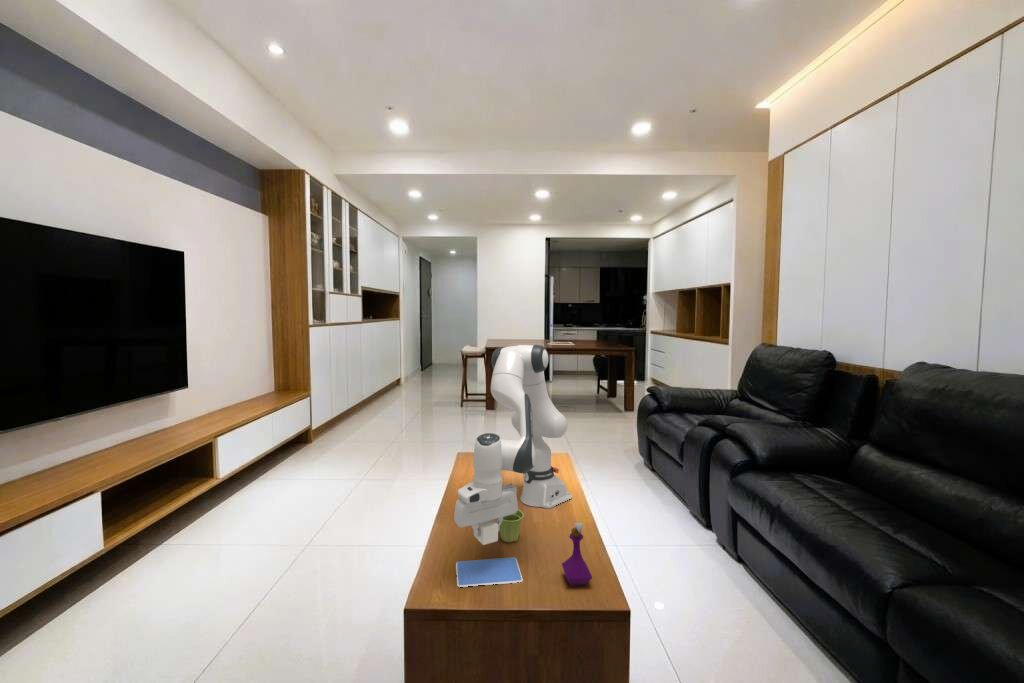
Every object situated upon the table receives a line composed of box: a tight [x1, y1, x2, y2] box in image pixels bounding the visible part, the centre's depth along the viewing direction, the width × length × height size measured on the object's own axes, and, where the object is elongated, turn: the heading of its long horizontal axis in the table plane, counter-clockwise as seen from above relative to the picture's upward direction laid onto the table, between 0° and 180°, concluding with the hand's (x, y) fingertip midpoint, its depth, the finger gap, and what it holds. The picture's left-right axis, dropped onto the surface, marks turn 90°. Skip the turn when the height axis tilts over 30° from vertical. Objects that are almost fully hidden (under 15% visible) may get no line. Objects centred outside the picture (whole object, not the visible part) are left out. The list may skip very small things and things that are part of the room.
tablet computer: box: [455, 556, 524, 589], centre depth 130 cm, size 19×13×1 cm, turn 100°
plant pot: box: [499, 509, 524, 543], centre depth 150 cm, size 9×9×9 cm
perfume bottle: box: [561, 522, 593, 586], centre depth 126 cm, size 8×8×18 cm
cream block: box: [475, 519, 499, 546], centre depth 130 cm, size 5×5×5 cm
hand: (486, 533), depth 130 cm, fingers closed on cream block, 5 cm apart
